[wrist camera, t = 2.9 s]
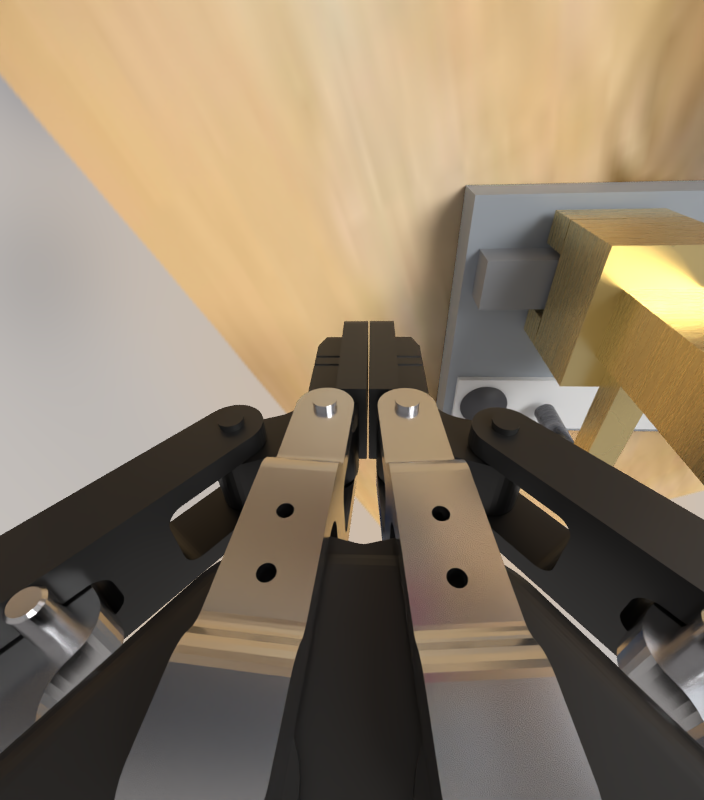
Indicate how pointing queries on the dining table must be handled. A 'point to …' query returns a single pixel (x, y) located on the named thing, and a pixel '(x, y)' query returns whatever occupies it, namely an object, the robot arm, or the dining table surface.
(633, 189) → the board
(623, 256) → the slider
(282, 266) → the dining table surface
